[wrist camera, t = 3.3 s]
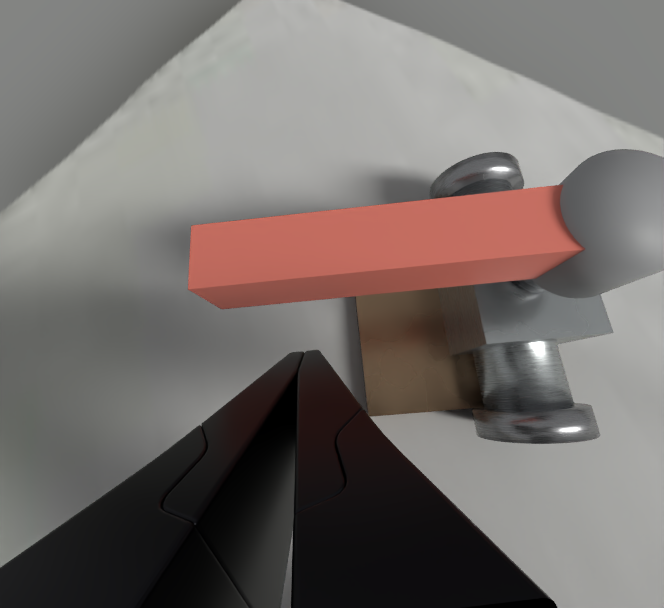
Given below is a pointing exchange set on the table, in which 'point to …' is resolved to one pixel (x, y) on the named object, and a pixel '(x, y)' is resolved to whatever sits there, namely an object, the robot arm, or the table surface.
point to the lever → (447, 241)
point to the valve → (480, 341)
